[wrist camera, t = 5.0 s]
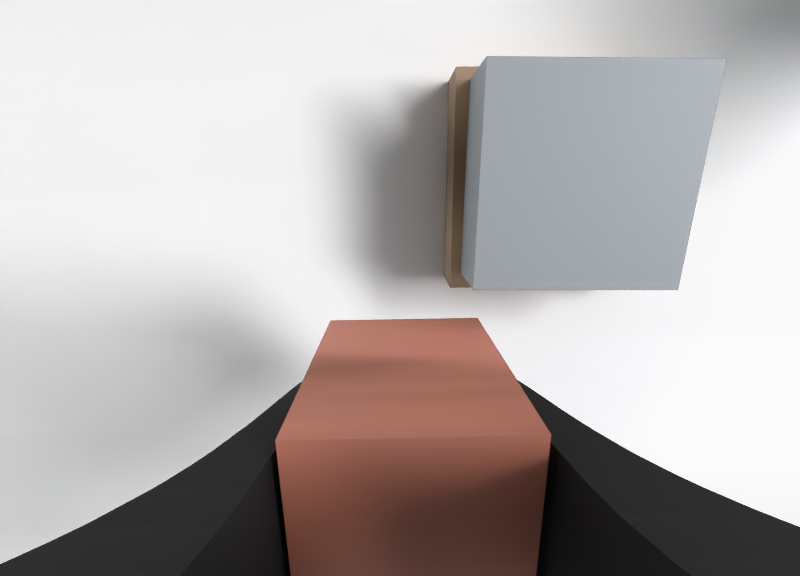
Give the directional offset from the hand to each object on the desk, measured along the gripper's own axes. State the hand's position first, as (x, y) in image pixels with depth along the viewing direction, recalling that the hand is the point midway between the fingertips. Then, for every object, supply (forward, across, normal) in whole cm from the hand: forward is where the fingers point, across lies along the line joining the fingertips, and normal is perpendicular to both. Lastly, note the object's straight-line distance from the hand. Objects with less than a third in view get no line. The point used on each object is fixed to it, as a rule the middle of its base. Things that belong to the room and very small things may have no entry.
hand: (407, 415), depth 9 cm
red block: (+2, 0, 0) cm, 2 cm away
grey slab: (+6, -6, -6) cm, 10 cm away
